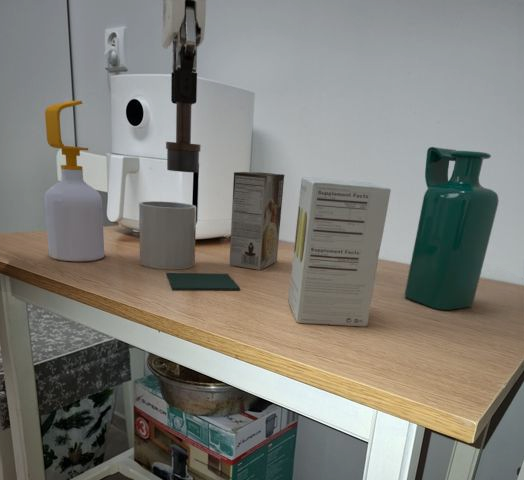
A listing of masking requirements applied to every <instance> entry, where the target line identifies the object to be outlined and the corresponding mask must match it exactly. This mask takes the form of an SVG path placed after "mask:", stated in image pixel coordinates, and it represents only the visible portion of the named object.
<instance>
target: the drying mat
mask: <svg viewBox="0 0 524 480" xmlns="http://www.w3.org/2000/svg"><path fill="white" fill-rule="evenodd" d="M166 277H167V280H168V283H169V285H170V288H171V291H241V287H240V286H239V285H238V284H237V283H236V282H235V280H234V279H233V278H232V276H230V275H229V273H220V272H219V273H216V272H215V273H213V272H212V273H211V272H210V273H209V272H208V273H207V272H166Z"/></svg>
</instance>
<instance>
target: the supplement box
mask: <svg viewBox="0 0 524 480" xmlns="http://www.w3.org/2000/svg"><path fill="white" fill-rule="evenodd" d="M391 192H392V190H391V188H389V187H383V186H381V185H377V184H373V183H371V182H365V181H364V182H363V181H353V180H345V179H344V180H342V179H330V178H320V177H309V176H308V177H307V176H303V177H301V179H300V190H299V198H298V199H299V200H298V207H297V218H296V226H295V227H296V228H295V237H294V245H293V254H292V255H293V256H292V264H291V272H290V273H291V274H290V282H289V292H288V304H289V306H290V309H291V313H292V314H293V317H294V319H295V322H296V323H297V324H310V325H311V324H312V325H328V324H329V325H330V326H331V325H332V326H347V327H348V326H349V327H363V328H364V327H365V328H367V327H368V322H369V316H370V311H371V304H372V299H373V292H374V288H375V281H376V275H377V270H378V264H379V263H378V262H379V255H380V250H381V246H382V241H383V235H384V231H385V225H386V220H387V215H388V209H389V208H388V207H389V203H390V196H391Z"/></svg>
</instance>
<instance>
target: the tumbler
mask: <svg viewBox="0 0 524 480" xmlns="http://www.w3.org/2000/svg"><path fill="white" fill-rule="evenodd" d="M196 228H197V205H194V204H190V203H184V202H176V201H163V200H162V201H160V200H156V201H155V200H152V201H151V200H149V201H147V200H146V201H140V202H138V231H139V234H138V235H139V236H138V237H139V238H138V239H139V243H138V244H139V264H140V265H142V266H144V267H146V268H150V269H156V270H168V271H169V270H170V271H171V270H172V271H175V270H177V271H178V270H185V269H186V270H187V269H190V268H194V266H195V261H196V236H197V235H196V234H197V233H196V232H197V231H196V230H197V229H196Z"/></svg>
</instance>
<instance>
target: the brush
mask: <svg viewBox="0 0 524 480" xmlns="http://www.w3.org/2000/svg"><path fill="white" fill-rule="evenodd" d="M175 105H176V109H175V110H176V112H175V114H176V115H175V119H176V120H175V141H165V149H166V170H167V171H170V172H179V173H199V167H200V166H199V165H200V152H201V146H202V145H201V144H199V143H192V106H193V104H189V103H181V102H176V104H175Z"/></svg>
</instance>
